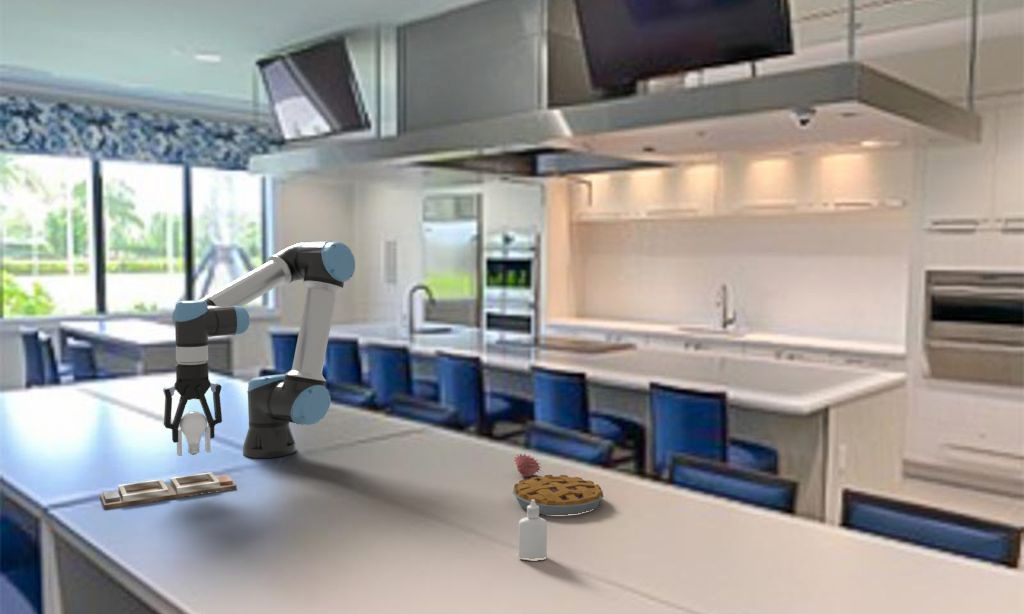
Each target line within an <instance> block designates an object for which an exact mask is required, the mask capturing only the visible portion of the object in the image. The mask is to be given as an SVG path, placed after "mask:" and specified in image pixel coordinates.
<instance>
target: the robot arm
mask: <svg viewBox="0 0 1024 614" xmlns="http://www.w3.org/2000/svg"><path fill="white" fill-rule="evenodd" d="M355 271H356V259H355V256H354V254H353V252H352V250H351V248H350V247H349V246H348V245H347V244H345V243H343V242H340V241H333V240H327V241H325V240H324V241H322V240H321V241H320V240H319V241H311V240H310V241H309V240H306V241H300V242H297V243H295V244H292V245H290V246H288V247H286V248H283V249H282V250H280V251H278V252H276V253H274V254H272V255H271V256H269V257H268V258H267V259H266V262H265V263H263V264H261V265H259V266H258V267H256V268H254V269H253V270H251V271H249V272H247V273H244V274H243V275H241V276H240V277H238V278H237V279H235V280H232V281H231V282H230V283H227V284H226V285H224V286H222V287H220V288H218V289H217V290H215V291H213V292H212V293H209V294H208V295H205V296H204V297H202V298H200V299H198V300H180V301H178V302H177V303H175V308H174V310H173V312H172V317H171V319H172V323H173V325H174V328H175V329H174V331H175V333H174V334H175V335H174V336H175V361H176V362H177V364H175V378H176V379H175V383H174V385H172V386H169V387H164V388H163V390H162V391H163V394H164V413H163V414H164V416H163V426H164V428H165V429H170V430H171V440H172V442H173V443H176V454H177V455H178V457H182V456H183V441H182V440H183V436H182V435H183V432H182V430H181V428H180V421H181V419H182V417H183V416H184V412H185V409H186V405H187V403H188V401H191V400H199V403H200V406H201V408H202V411H203V415H204V416H205V418H206V420H207V427H206V429H205V431H204V448H205V449H204V450H205V452H206V453H207V454H209V453H211V439H214V438H215V426H216V425H218V424H221V423H222V422H223V416H222V405H221V403H222V402H221V395H220V394H221V392H222V391H221V390H222V385H221V384H219V383H211V382H210V378H209V376H210V375H209V363H208V362H207V361H209V338H212V337H221V336H236V335H241V334H244V333H245V332H246V331H247V330H248V328H249V326H250V314H249V313H248V310H247V309H246V308H245V306H246V305H248V304H249V303H251V302H253V301H254V300H256V299H258V298H260V297H261V296H263V295H265V294H267V293H269V292H271V291H272V290H273V289H275V288H277V287H279V286H287V285H289V284H291V283H292V282H296V281H303V285H304V286H305V287H306V294H305V299H304V303H303V310H302V314H301V315H302V316H301V319H300V325H299V331H298V335H297V341H296V345H295V352H294V356H293V357H294V358H293V362H292V367H291V370H289V371H288V372H286V373H285V374H284V373H282V374H273V375H262V376H258V377H253V378H251V379H250V380H249V381H248V384H247V386H248V387H247V404H248V405H247V411H248V428H247V432H246V436H245V438H244V442H243V446H242V454H243V455H244V456H246V457H247V458H254V459H273V458H279V457H280V458H281V457H285V456H289V455H291V454H293V453H295V452H296V449H297V448H296V440H295V438H294V435H293V431H292V429H291V427H290V423H293V424H296V425H301V426H303V425H305V426H311V425H315V424H318V423H319V422H320V421H321V420H323V419H324V418H325V416H326V415H327V413H328V412H329V409H330V406H331V402H332V400H331V395H330V391H329V390H328V388H326V387H325V386H326V382H327V380H326V379H325V377H324V376H323V368H324V363H325V358H326V354H327V348H328V342H329V337H330V331H331V327H332V321H333V315H334V309H335V304H336V300H337V299H336V298H337V295H338V294H339V293H340V292H342V291H343V289H344V286H345V282H347V281H349V280H350V279H351V278H352V277H353V276H354V273H355ZM209 389H210V391H211V392H212V396H213V397H212V400H213V401H212V402H213V410H214V418H213V415H212V412H211V409H210V407H209V405H208V402H207V398H206V396H205V395H206V393H207V392H208V390H209ZM175 391H176V392H178V394H179V395H180V397H179V401H178V404H177V408H176V411H175V414H174V417H173V420H172V409H173V408H172V407H173V396H174V395H175Z"/></svg>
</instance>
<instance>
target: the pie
mask: <svg viewBox="0 0 1024 614" xmlns="http://www.w3.org/2000/svg"><path fill="white" fill-rule="evenodd" d="M512 494H513V496H515V498H516V500H517V501H518V504H519V505H520V506H521V507H522V508H523V509H524V510H525V509H526V510H525V511H527V506H528V505H530V504H531V500H532V499H534V500H535V503H536V505H537V506H539V514H543V515H542V516H544V515H568V514H578V513H582V512H586V511H590V510H592V509H594V508H595V507H597V508H598V506H599V503H600V501H601V500H602V499H603V498H604V491H603V490H602V488H601V486H600V484H595V483H594V481H593V480H585V479H583V478H582V477H580V476H579V477H578V476H575V477H570V476H569V475H567V474H560V475H558V476H557V475H556V476H553V475H552V474H544V476H540V477H539V476H530V478H529V479H525V478H524V479H519V481H518V483H515V484H514V487H513V489H512ZM595 509H596V508H595ZM595 509H594V510H595ZM592 511H593V510H592Z"/></svg>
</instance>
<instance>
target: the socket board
mask: <svg viewBox="0 0 1024 614" xmlns="http://www.w3.org/2000/svg"><path fill="white" fill-rule="evenodd" d="M117 487H118V490H110V491H104V492H102V493H100V501H101V500H102V501H101V504H102V507H103V506H104V507H103V508H104V510H108V509H109V508H110V509H115V508H123V507H129V505H130V506H135V504H136V505H142V504H149V503H154V502H153V501H156V502H160V501H159V500H162V501H166V500H165V499H169V500H172V499H171V498H175V499H179V498H178V497H182V498H185V497H184V496H189V497H191V496H190V495H195V496H197V495H196V494H201V493H208V492H215V493H217V492H216V491H221V492H224V491H223V490H228V491H230V490H229V489H234V490H237V485H236V483H235V482H234V481H233V479H232V478H231V477H230V476H229V475H228V474H222V475H217V476H216V475H215V474H214V473H213V472H212V471H211V472H203V473H195V474H190V475H181V476H174V477H170V483H165V481H164V480H163V478H161V479H153V480H152V479H151V480H147V481H146V480H145V481H138V482H132V483H125V484H124V483H123V484H118V486H117ZM208 494H209V493H208ZM148 502H149V503H148ZM122 506H123V507H122Z"/></svg>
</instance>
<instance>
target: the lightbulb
mask: <svg viewBox="0 0 1024 614" xmlns="http://www.w3.org/2000/svg"><path fill="white" fill-rule="evenodd" d="M207 425H208V422H207V419H206V417H205V414H204V413H202V412H200V411H189V412H187V413H185V414H183V415H182V418H181V421H180V425H179V428H180V429H181V430H182V435H184V437H185V440H186V442H187V447H188V449H187V450H188V451H187V452H188V454H190V455H192V456H195V455H197V454H199V453H200V452H201V451H200V449H201V448H200V442H201V439H202V436H203V434H205V429H206V427H207Z"/></svg>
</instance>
